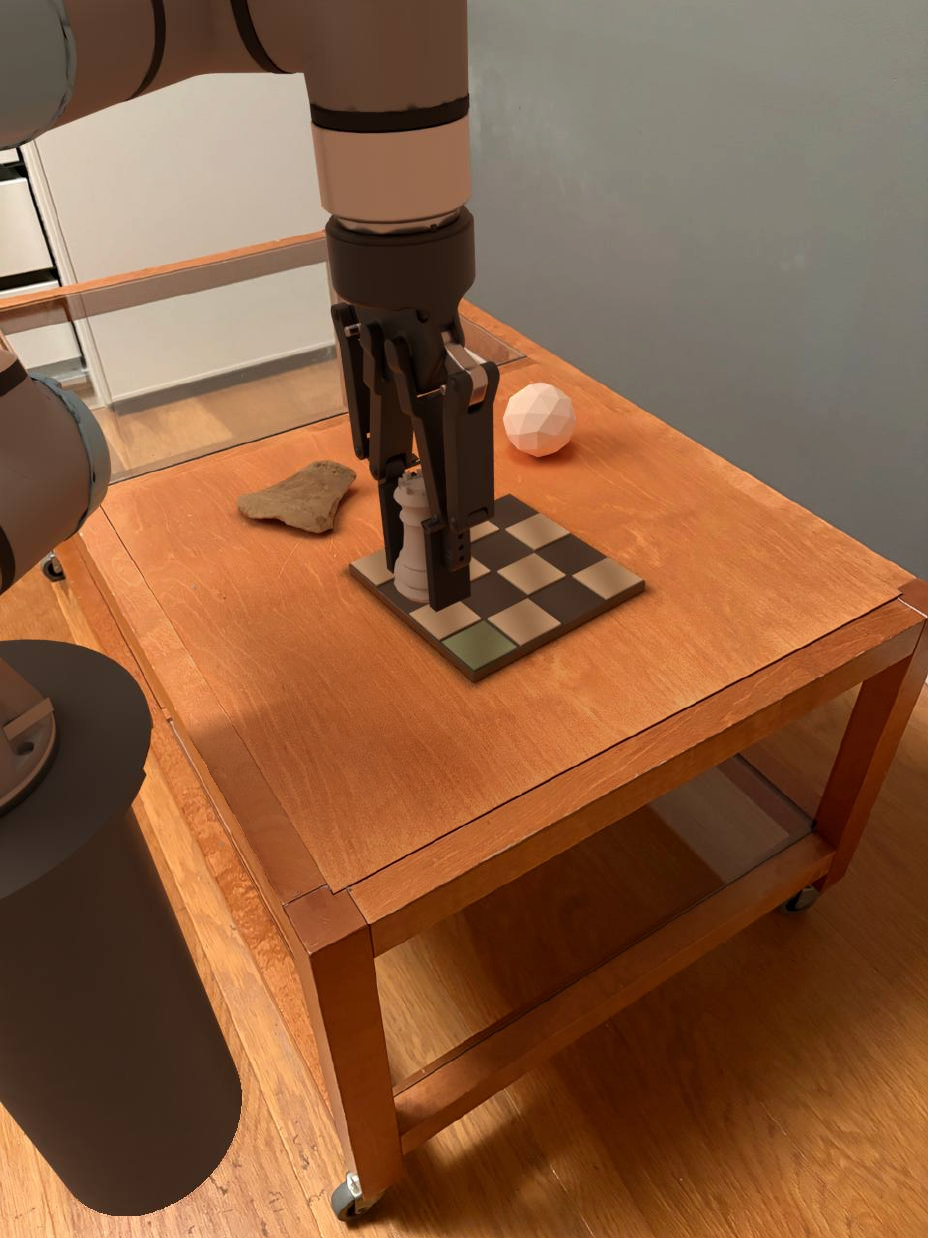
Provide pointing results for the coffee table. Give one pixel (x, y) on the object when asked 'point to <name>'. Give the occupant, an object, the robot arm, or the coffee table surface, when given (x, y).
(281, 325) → the coffee table surface
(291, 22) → the robot arm
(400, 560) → the rook chess piece
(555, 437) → the geometric ball
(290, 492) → the pottery shard
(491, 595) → the game board
